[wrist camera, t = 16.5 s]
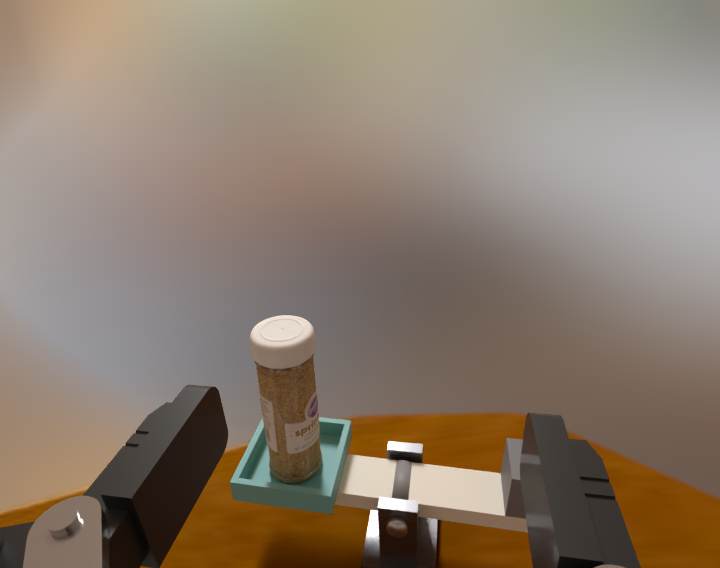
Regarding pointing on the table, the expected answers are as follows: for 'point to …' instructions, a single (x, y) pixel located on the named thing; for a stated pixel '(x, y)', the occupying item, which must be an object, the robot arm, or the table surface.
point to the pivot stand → (400, 525)
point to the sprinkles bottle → (288, 396)
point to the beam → (386, 483)
